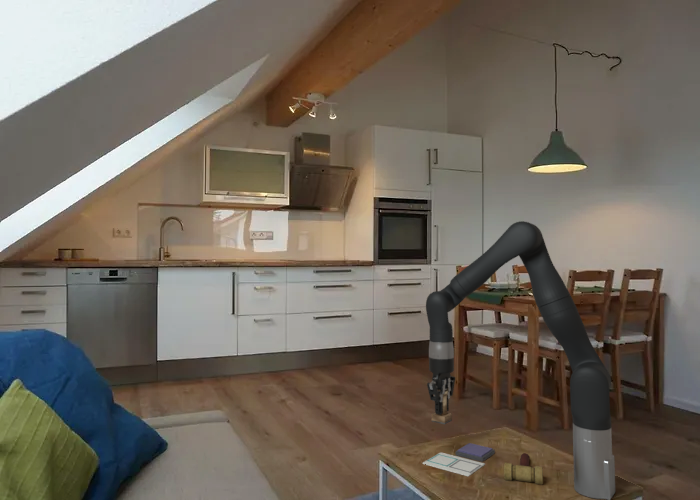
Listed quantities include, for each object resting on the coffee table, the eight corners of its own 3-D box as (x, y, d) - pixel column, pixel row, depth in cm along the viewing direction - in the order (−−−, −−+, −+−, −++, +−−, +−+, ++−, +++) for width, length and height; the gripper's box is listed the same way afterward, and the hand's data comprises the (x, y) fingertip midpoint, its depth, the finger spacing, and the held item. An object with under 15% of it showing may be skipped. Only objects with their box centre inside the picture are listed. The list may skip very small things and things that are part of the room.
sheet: (485, 464, 151) (484, 463, 151) (468, 476, 142) (468, 475, 142) (440, 453, 160) (440, 452, 160) (422, 463, 152) (422, 462, 152)
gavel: (508, 445, 159) (542, 448, 155) (508, 460, 158) (542, 464, 155) (503, 465, 139) (542, 469, 136) (504, 482, 139) (542, 487, 135)
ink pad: (494, 453, 160) (494, 448, 160) (482, 461, 153) (482, 456, 153) (468, 447, 166) (468, 442, 166) (455, 455, 159) (455, 449, 159)
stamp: (451, 420, 154) (451, 390, 155) (444, 424, 151) (444, 393, 151) (438, 418, 157) (438, 388, 158) (431, 421, 154) (431, 391, 154)
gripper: (440, 360, 147) (441, 420, 146) (463, 354, 158) (463, 409, 157) (418, 357, 152) (419, 415, 151) (441, 351, 163) (442, 405, 162)
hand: (442, 412), depth 154 cm, fingers closed on stamp, 3 cm apart
